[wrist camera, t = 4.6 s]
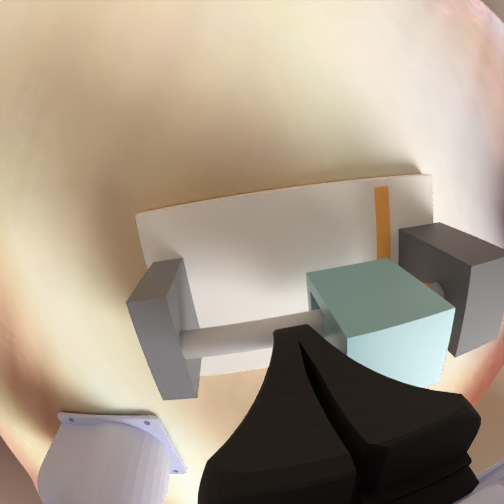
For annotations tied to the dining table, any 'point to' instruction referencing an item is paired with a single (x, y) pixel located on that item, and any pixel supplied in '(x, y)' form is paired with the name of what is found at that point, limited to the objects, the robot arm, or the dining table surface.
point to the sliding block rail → (293, 270)
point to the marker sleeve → (384, 319)
